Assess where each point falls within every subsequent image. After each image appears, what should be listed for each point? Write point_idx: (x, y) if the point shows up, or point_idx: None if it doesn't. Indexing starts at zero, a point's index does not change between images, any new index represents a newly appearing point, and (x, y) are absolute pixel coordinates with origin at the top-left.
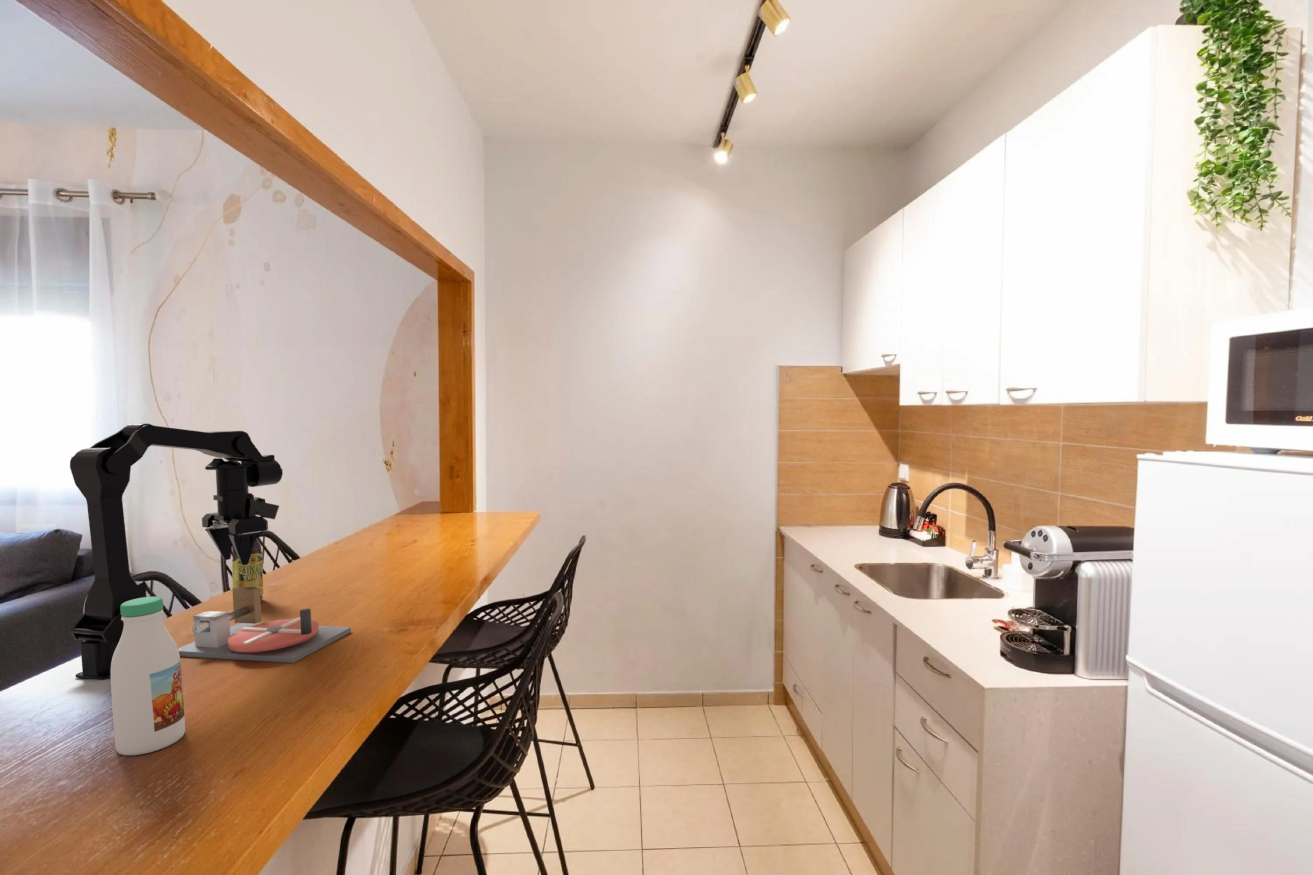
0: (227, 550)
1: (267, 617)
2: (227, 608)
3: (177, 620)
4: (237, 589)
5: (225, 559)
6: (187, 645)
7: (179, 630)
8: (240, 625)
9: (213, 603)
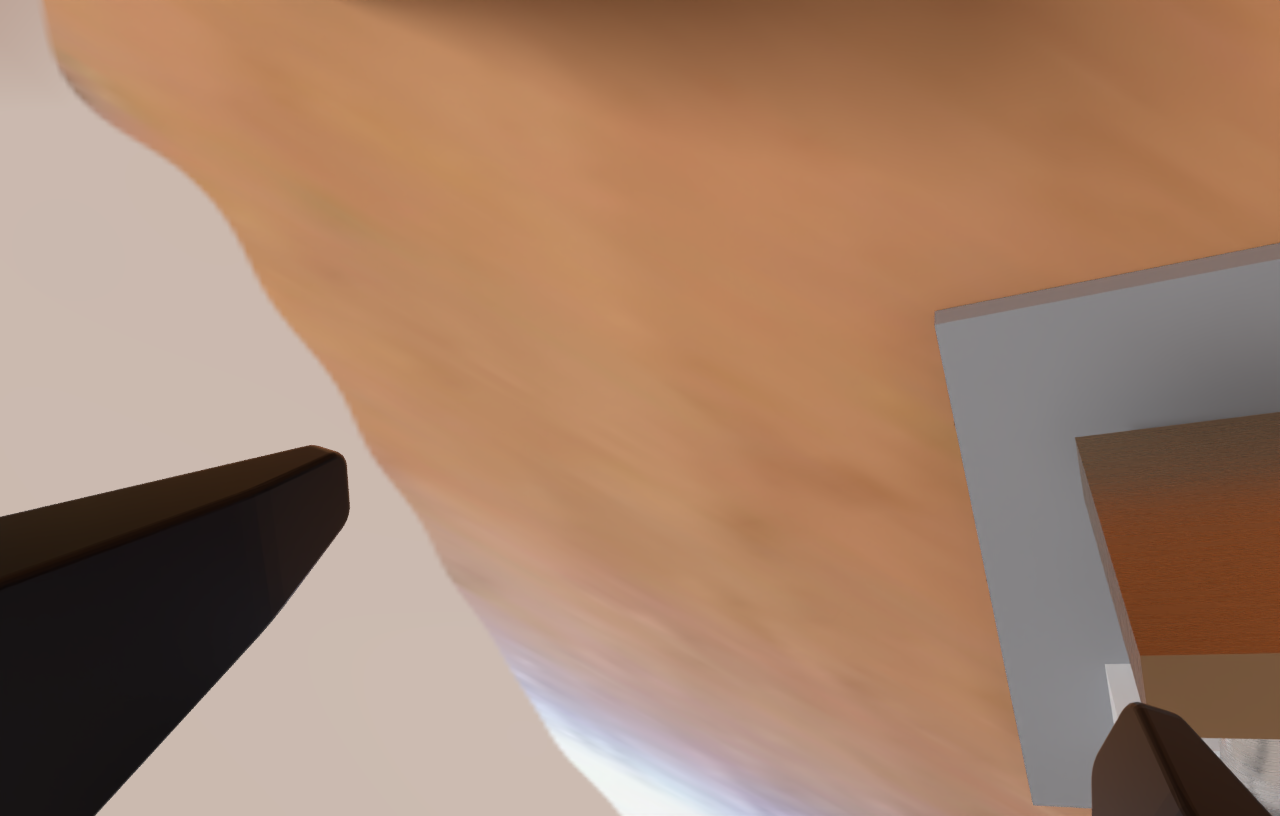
0: (217, 572)
1: (907, 35)
2: (322, 48)
3: (351, 363)
4: (1240, 731)
5: (346, 518)
6: (1034, 736)
7: (572, 482)
8: (1007, 378)
9: (113, 22)
